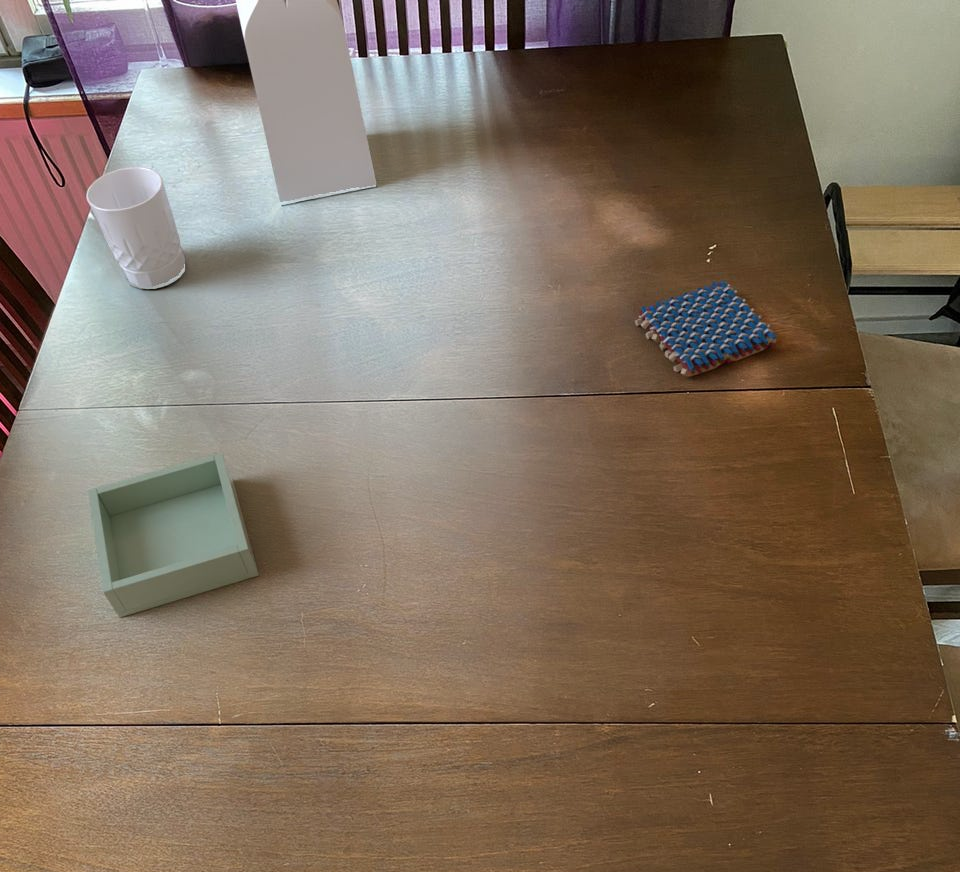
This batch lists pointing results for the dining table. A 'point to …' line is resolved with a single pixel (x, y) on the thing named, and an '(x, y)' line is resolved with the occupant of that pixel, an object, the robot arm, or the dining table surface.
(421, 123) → the dining table surface
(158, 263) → the white cup
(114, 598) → the socket
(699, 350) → the woven mat
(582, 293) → the dining table surface
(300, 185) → the milk
